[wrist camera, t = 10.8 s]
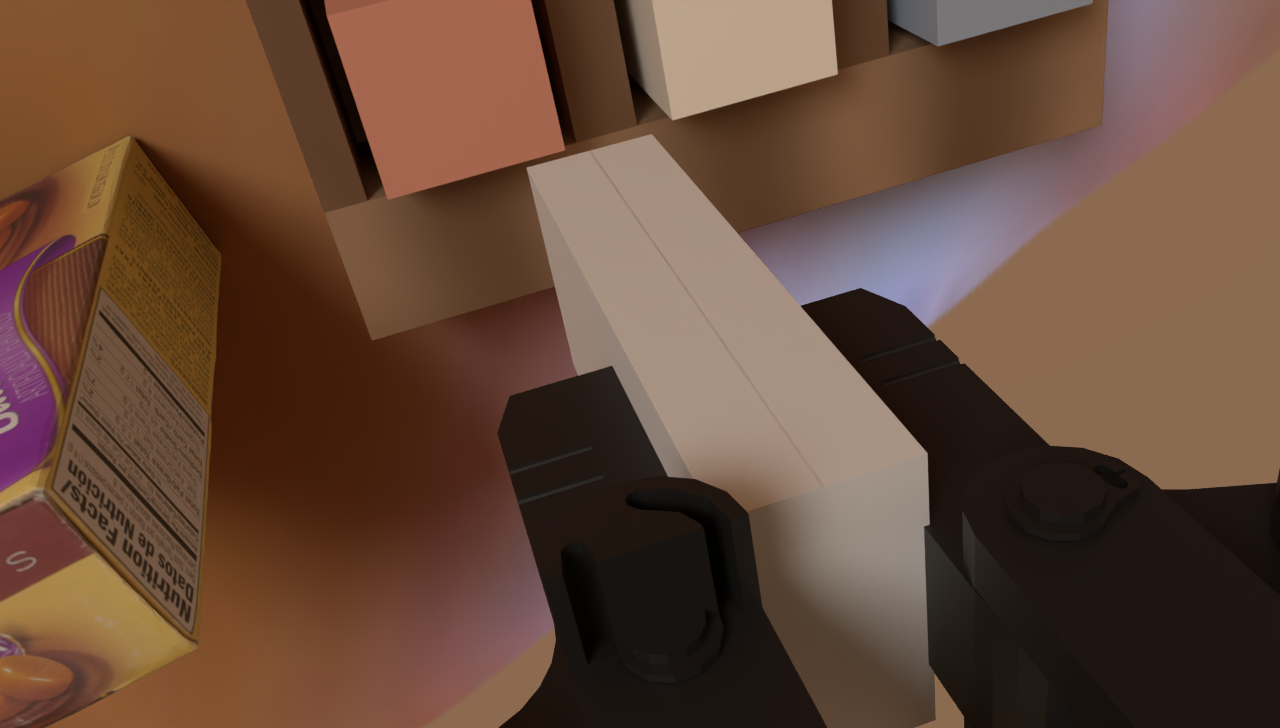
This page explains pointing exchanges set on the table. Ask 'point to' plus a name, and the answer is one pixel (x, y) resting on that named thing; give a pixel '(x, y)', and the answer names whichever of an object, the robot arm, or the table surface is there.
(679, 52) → the ivory key
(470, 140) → the brick key
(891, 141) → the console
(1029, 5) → the slate key
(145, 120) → the table surface
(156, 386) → the candy box
